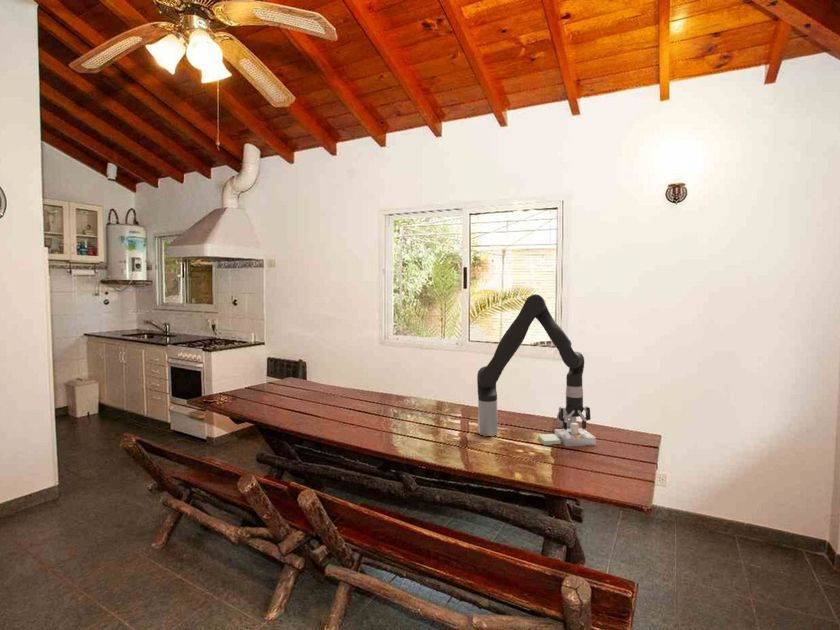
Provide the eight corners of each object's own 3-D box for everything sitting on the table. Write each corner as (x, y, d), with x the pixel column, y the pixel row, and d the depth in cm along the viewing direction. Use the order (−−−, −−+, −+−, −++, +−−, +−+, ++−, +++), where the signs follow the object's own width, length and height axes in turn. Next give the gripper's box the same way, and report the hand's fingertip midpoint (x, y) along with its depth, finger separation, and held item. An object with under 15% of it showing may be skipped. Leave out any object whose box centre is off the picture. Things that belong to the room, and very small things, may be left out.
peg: (572, 441, 210) (572, 425, 210) (569, 439, 213) (569, 422, 213) (579, 441, 210) (579, 424, 210) (576, 439, 214) (576, 422, 213)
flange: (565, 446, 205) (565, 438, 204) (554, 436, 218) (554, 428, 218) (595, 445, 205) (595, 437, 205) (583, 435, 219) (583, 427, 219)
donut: (555, 427, 232) (555, 408, 231) (558, 425, 234) (558, 406, 234) (575, 431, 225) (575, 411, 225) (577, 429, 228) (577, 409, 228)
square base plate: (544, 445, 207) (544, 440, 207) (538, 438, 216) (538, 434, 215) (560, 444, 207) (560, 440, 207) (553, 438, 216) (553, 433, 216)
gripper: (562, 397, 206) (562, 432, 207) (592, 396, 207) (592, 431, 208) (556, 393, 214) (556, 427, 215) (586, 392, 215) (586, 426, 216)
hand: (574, 429), depth 211 cm, fingers open, 8 cm apart
